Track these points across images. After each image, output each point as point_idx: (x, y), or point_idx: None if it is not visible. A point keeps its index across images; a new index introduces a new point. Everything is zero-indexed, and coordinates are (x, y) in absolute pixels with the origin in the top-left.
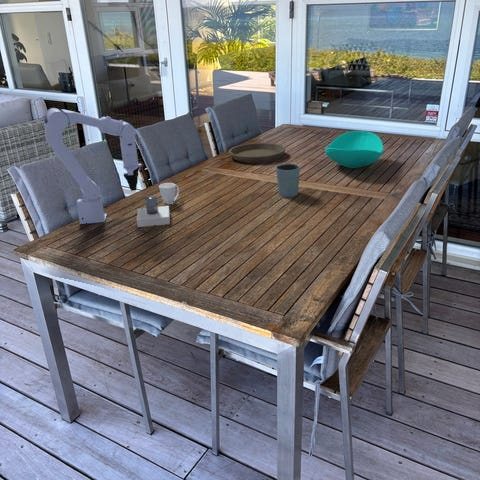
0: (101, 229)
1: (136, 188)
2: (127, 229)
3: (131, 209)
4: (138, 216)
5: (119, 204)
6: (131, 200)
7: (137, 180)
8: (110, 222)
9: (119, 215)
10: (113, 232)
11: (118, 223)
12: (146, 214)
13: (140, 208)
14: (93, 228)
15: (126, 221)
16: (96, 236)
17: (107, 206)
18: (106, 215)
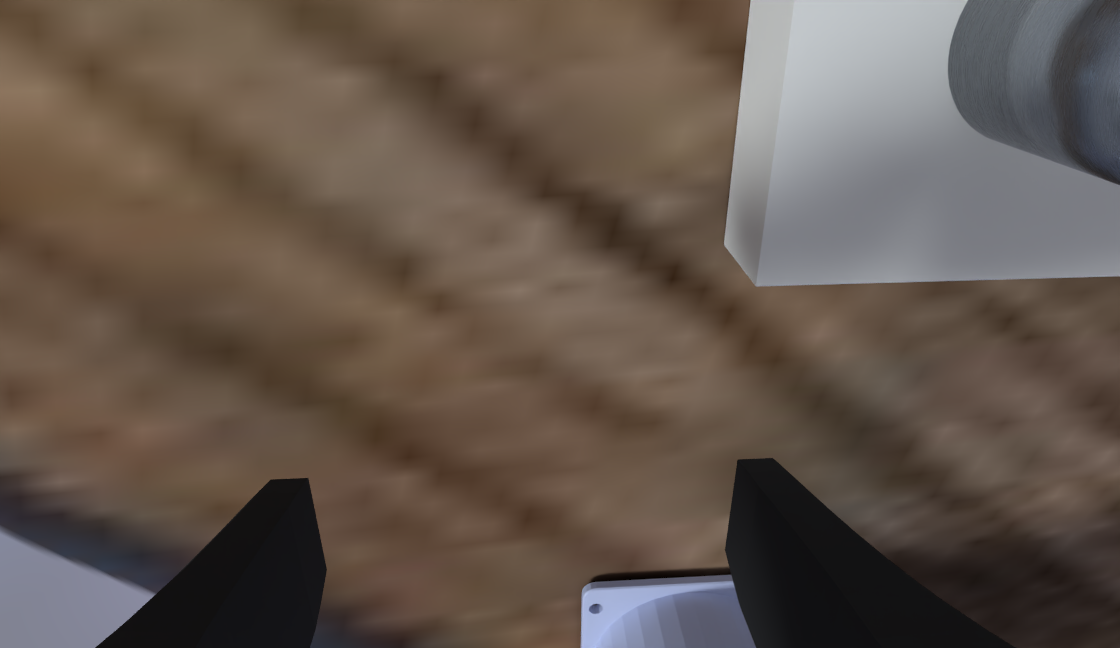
0: (960, 566)
1: (775, 475)
2: (1107, 342)
3: (463, 357)
4: (1090, 259)
5: None
6: (95, 388)
7: (271, 533)
8: None
9: (637, 464)
10: (1101, 462)
11: (880, 447)
12: None
13: (768, 253)
14: None
15: (860, 375)
16: (1103, 578)
17: None
18: (625, 582)
